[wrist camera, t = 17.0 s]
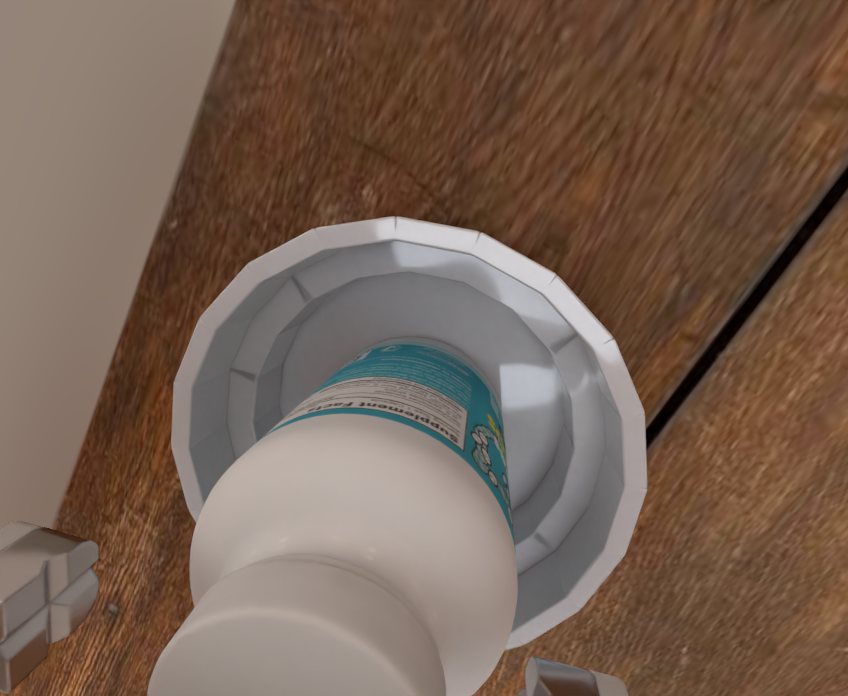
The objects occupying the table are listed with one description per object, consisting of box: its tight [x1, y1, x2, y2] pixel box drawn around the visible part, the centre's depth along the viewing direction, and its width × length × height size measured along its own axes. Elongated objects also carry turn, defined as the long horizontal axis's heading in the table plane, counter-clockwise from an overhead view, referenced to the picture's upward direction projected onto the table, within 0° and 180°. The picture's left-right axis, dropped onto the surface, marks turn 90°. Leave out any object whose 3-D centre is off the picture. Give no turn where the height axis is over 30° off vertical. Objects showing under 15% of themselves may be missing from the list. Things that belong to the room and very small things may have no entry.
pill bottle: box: [147, 337, 518, 696], centre depth 14 cm, size 8×7×14 cm
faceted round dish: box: [171, 216, 647, 651], centre depth 18 cm, size 16×16×6 cm
